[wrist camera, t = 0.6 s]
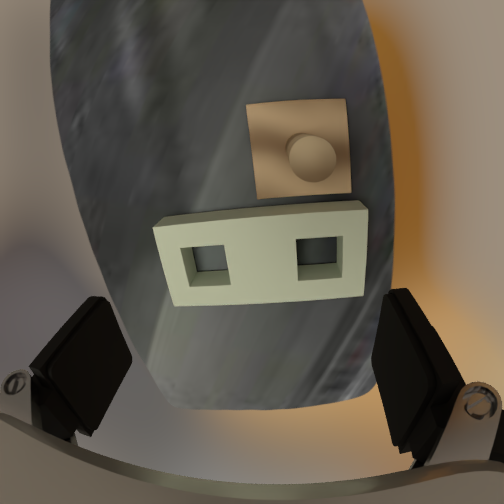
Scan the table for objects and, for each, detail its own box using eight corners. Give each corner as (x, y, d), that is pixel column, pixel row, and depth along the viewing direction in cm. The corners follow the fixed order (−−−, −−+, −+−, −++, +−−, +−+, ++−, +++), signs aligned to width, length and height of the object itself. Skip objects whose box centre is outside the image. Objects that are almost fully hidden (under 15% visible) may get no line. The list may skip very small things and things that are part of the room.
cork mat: (246, 105, 26) (246, 104, 26) (344, 99, 25) (345, 98, 25) (257, 198, 30) (257, 199, 30) (350, 191, 29) (351, 192, 29)
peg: (283, 133, 27) (287, 137, 18) (315, 131, 26) (334, 135, 17) (287, 164, 28) (291, 183, 19) (318, 162, 28) (337, 181, 19)
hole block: (164, 216, 32) (152, 227, 29) (359, 200, 30) (368, 209, 26) (182, 290, 36) (174, 306, 33) (356, 279, 34) (363, 295, 30)
